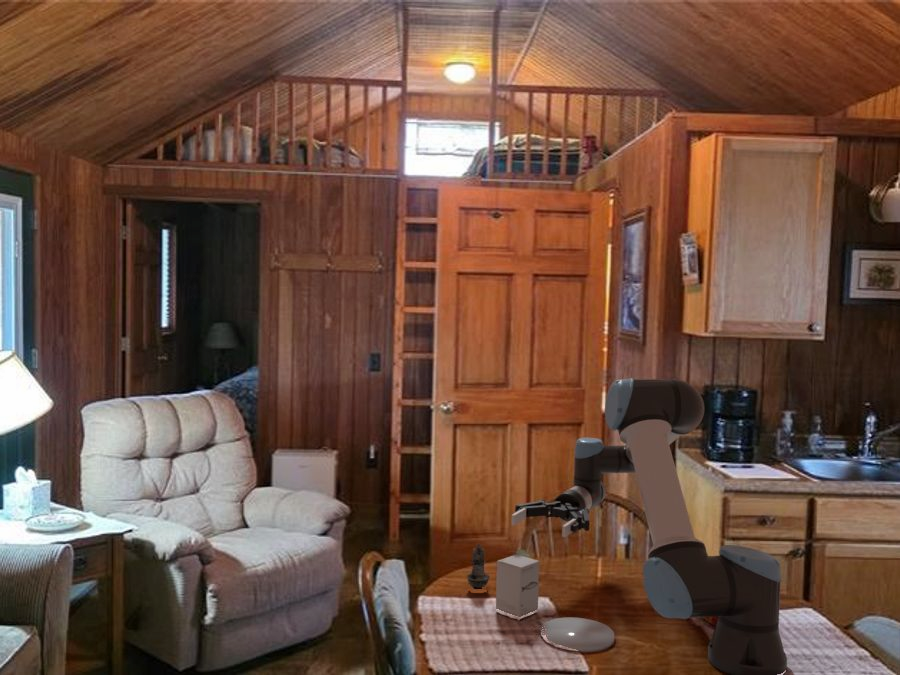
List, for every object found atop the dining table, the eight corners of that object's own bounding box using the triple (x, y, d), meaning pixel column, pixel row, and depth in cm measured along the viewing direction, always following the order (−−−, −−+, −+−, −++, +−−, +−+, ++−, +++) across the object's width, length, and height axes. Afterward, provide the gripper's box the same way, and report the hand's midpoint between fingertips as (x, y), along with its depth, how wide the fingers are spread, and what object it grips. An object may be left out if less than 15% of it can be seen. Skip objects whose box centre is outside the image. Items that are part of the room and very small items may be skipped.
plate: (630, 642, 172) (630, 637, 172) (572, 658, 163) (572, 653, 163) (581, 616, 185) (581, 612, 185) (525, 630, 177) (525, 625, 177)
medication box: (515, 563, 223) (515, 549, 223) (524, 562, 224) (524, 548, 224) (529, 578, 212) (529, 563, 212) (539, 577, 212) (539, 562, 212)
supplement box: (519, 622, 182) (520, 567, 181) (494, 613, 187) (495, 560, 186) (539, 613, 187) (540, 560, 186) (514, 604, 192) (515, 553, 192)
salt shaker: (490, 586, 204) (490, 540, 204) (488, 595, 198) (489, 547, 198) (467, 585, 205) (468, 539, 204) (465, 593, 199) (466, 546, 198)
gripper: (617, 527, 205) (585, 552, 187) (529, 508, 218) (492, 530, 200) (618, 498, 204) (586, 521, 186) (530, 482, 217) (493, 501, 199)
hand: (537, 526), depth 193 cm, fingers open, 13 cm apart
